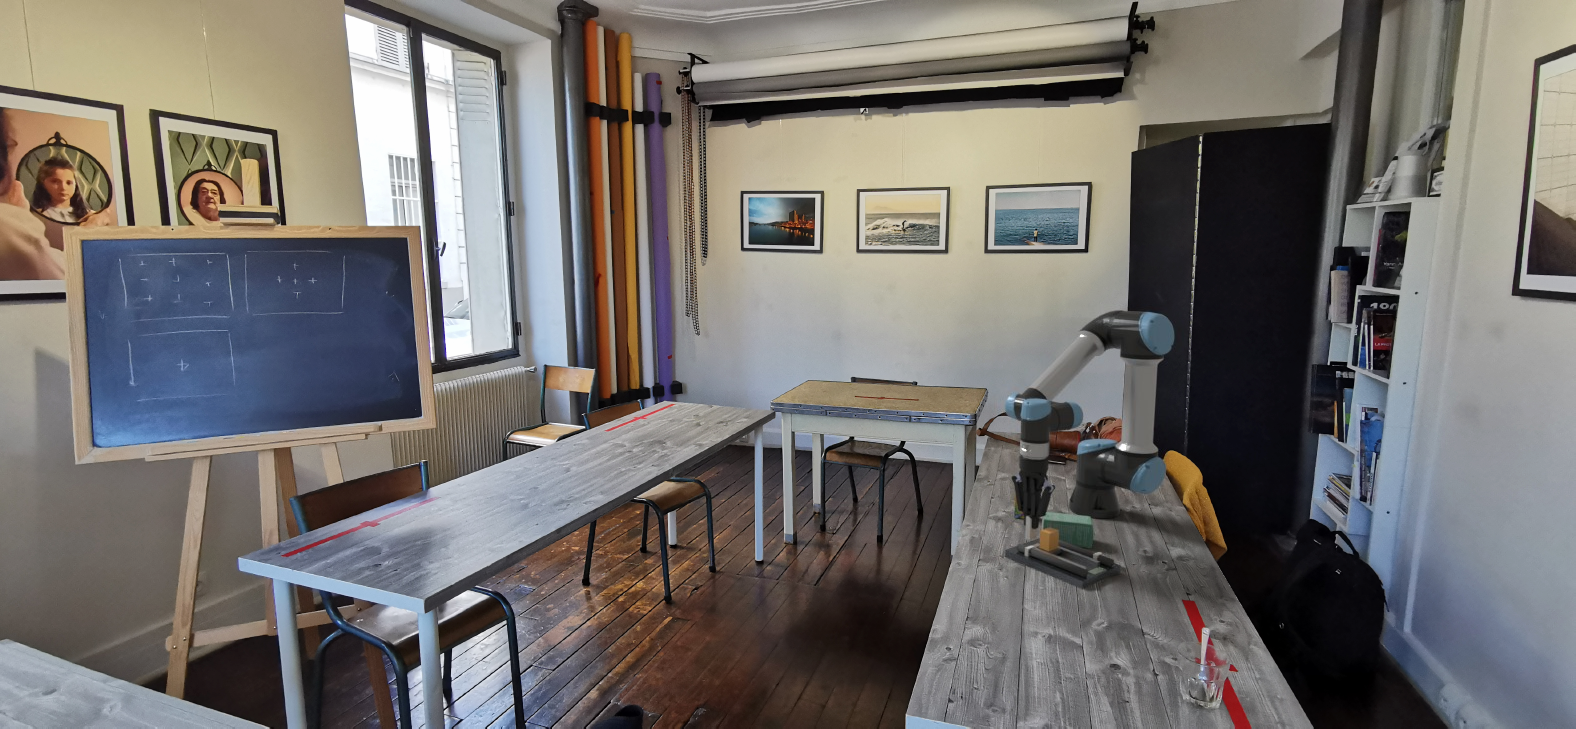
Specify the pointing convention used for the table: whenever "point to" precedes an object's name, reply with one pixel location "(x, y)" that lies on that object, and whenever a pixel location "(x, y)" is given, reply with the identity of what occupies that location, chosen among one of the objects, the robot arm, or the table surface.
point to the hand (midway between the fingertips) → (1030, 538)
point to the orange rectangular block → (1049, 540)
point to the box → (1071, 528)
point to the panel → (1093, 566)
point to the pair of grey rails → (1063, 564)
